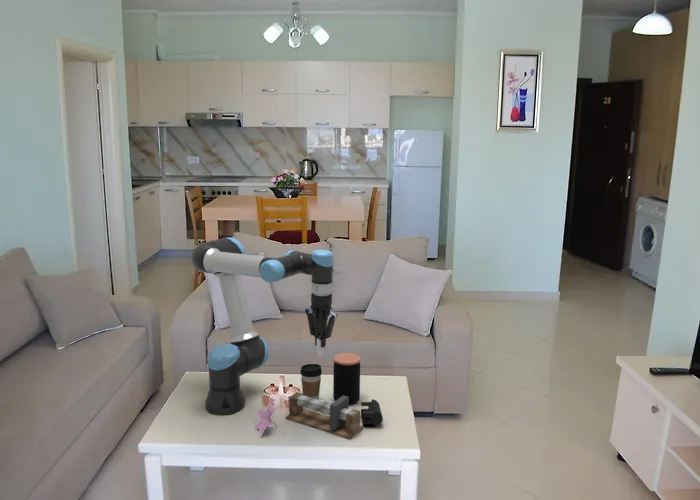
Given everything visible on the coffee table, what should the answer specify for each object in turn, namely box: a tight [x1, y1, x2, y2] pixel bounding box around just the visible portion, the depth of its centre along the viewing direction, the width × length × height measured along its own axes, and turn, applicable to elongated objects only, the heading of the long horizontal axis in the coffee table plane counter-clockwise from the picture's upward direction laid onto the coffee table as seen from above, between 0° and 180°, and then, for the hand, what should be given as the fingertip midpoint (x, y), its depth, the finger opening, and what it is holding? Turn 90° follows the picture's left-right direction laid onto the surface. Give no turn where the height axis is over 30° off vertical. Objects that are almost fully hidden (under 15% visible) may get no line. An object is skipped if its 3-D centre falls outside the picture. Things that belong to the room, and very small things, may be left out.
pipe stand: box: [285, 391, 364, 441], centre depth 222 cm, size 28×9×8 cm, turn 59°
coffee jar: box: [332, 352, 361, 406], centre depth 240 cm, size 11×11×18 cm
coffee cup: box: [299, 363, 323, 400], centre depth 238 cm, size 8×8×15 cm
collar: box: [330, 395, 350, 430], centre depth 218 cm, size 2×9×9 cm, turn 149°
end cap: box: [360, 399, 384, 429], centre depth 224 cm, size 10×7×7 cm
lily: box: [254, 401, 278, 438], centre depth 217 cm, size 12×12×10 cm
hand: (320, 354), depth 221 cm, fingers closed
